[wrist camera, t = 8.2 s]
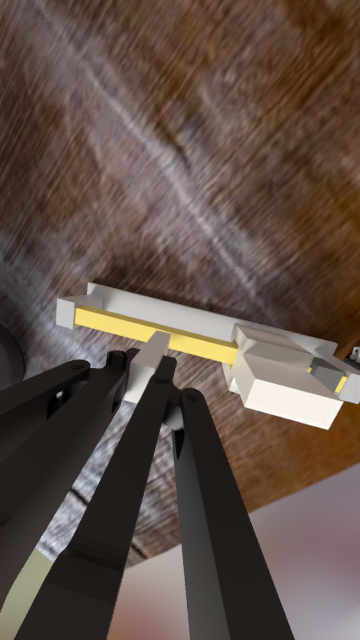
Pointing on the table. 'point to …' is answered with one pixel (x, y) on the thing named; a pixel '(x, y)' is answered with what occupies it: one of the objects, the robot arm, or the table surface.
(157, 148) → the table surface
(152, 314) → the linear slide rail
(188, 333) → the long yellow bar
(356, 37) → the table surface
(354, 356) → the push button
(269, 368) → the white stepped block
